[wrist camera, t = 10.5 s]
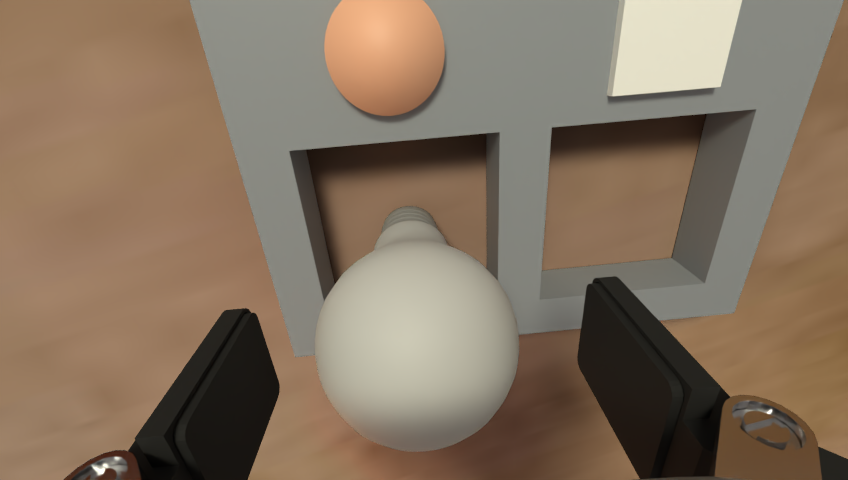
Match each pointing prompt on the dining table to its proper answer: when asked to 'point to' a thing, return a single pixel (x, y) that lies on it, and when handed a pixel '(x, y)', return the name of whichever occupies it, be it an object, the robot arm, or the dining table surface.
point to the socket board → (517, 123)
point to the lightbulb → (416, 340)
